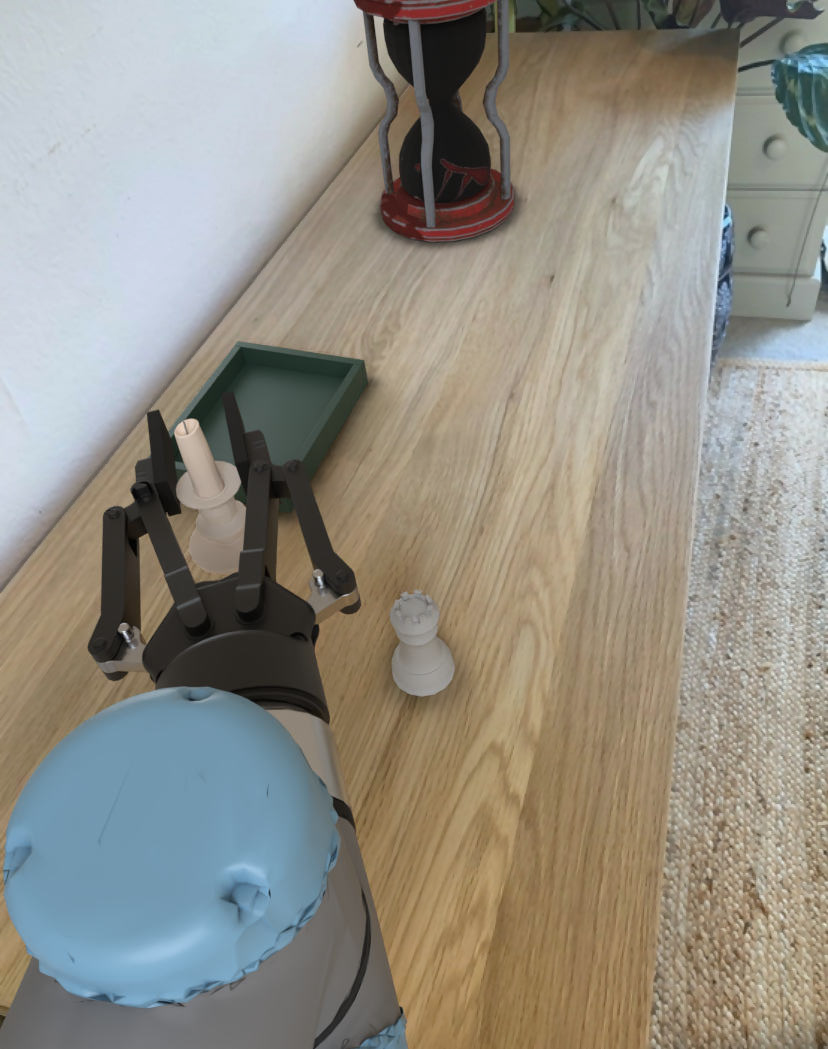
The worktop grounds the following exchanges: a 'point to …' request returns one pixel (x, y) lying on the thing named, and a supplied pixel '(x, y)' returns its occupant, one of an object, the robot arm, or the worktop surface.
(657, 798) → the worktop surface
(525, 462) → the worktop surface
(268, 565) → the robot arm
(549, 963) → the worktop surface
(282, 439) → the tray
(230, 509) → the candle
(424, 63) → the hourglass
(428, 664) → the rook chess piece
